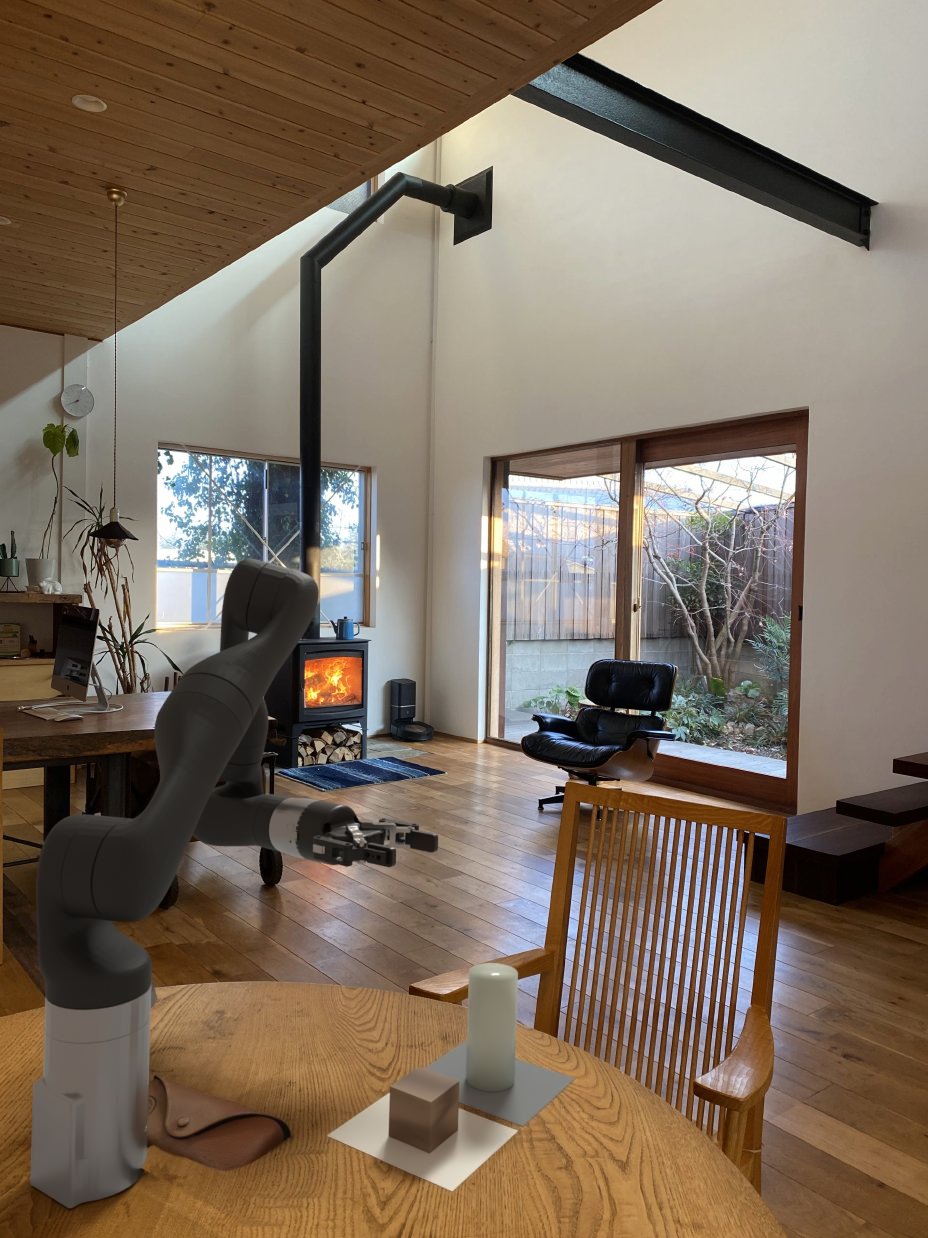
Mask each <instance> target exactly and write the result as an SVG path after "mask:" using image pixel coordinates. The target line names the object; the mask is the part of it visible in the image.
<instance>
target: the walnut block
mask: <svg viewBox="0 0 928 1238" xmlns="http://www.w3.org/2000/svg"><path fill="white" fill-rule="evenodd" d="M425 1068H426V1067H422V1066H419V1065H418V1066H417V1067H416V1068H415V1069H414V1070H413V1069H412V1071H411V1072H409V1073H407V1074H406V1075H404V1076H403V1077H402V1078H400V1079H399V1080H397V1081H396V1082H394V1083H393V1084H391V1085H389V1093H390V1102H389V1135H388V1136H389V1137H391V1138H394V1139H396V1140H398V1141H401V1142H403V1143H406V1144H408V1145H410V1146H413V1147H415V1148H417V1149H420V1150H422V1151H424V1152H427V1153H429V1154H430V1153H431V1152H432V1151H433V1150H435V1149H436V1148H437V1147H438V1146H439V1145H441V1144H442V1143H443V1142H444V1141H445V1140H447V1139H448V1138H449V1137H450V1136H451V1135H453V1134H454V1133H455V1132H456V1131H458V1115H459V1108H460V1107H459V1106H460V1104H459V1082H460V1081H458V1080H455V1079H453V1078H450V1077H447V1076H445V1075H442V1074H439V1073H436V1072H434V1071H431V1070H428V1069H425Z"/></svg>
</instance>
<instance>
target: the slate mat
mask: <svg viewBox="0 0 928 1238" xmlns="http://www.w3.org/2000/svg"><path fill="white" fill-rule="evenodd" d="M466 1054H467V1041H463V1042H461V1043H460V1044H458V1045H457V1046H455V1047H454V1048H452V1049H451V1050H449V1051H448V1052H446V1053H445V1054H444V1055H442V1056H441V1057H439V1058H438V1059H436V1060H435V1061H433V1062H432V1063H430V1064H429V1065H428V1066H426V1067H424V1068H425V1069H428V1070H431V1071H434V1072H436V1073H439V1074H442V1075H445V1076H447V1077H450V1078H453V1079H455V1080H458V1081H460V1082H459V1103H460V1104H461V1105H465V1106H467V1107H470V1108H473V1109H475V1110H478V1111H480V1112H484V1113H485V1114H488V1115H491V1116H494V1117H496V1118H498V1119H501V1120H503V1121H507V1122H509V1123H513V1124H514V1125H517V1126H520V1127H521V1128H522V1127H525V1126H526V1125H527V1124H528V1123H529V1122H530V1121H531V1120H532V1119H533V1118H535V1116H537V1115H538V1114H539V1113H540V1112H541V1111H542V1110H543V1109H544V1108H545V1107H546V1106H547V1105H549V1104H550V1103H551V1102H552V1101H553V1100H554V1099H555V1098H556V1097H557V1096H559V1094H560V1093H562V1092H564V1090H565V1089H566V1088H567V1087H568V1086H569V1085H571V1084H572V1082H574V1081H575V1080H576V1078H575V1077H572V1076H569V1075H567V1074H563V1073H561V1072H558V1071H554V1070H551V1069H549V1068H546V1067H542V1066H541V1065H540V1066H539V1065H537V1064H533V1063H532V1062H531V1063H530V1062H528V1061H524V1060H522V1059H518V1058H516V1057H515V1082H514V1084H513V1085H512V1086H511V1087H510V1088H508V1089H506V1090H502V1091H495V1092H490V1091H482V1090H478V1089H476V1088H473V1087H472V1086H470V1085H469V1084H468V1083H467V1081H466Z"/></svg>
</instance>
